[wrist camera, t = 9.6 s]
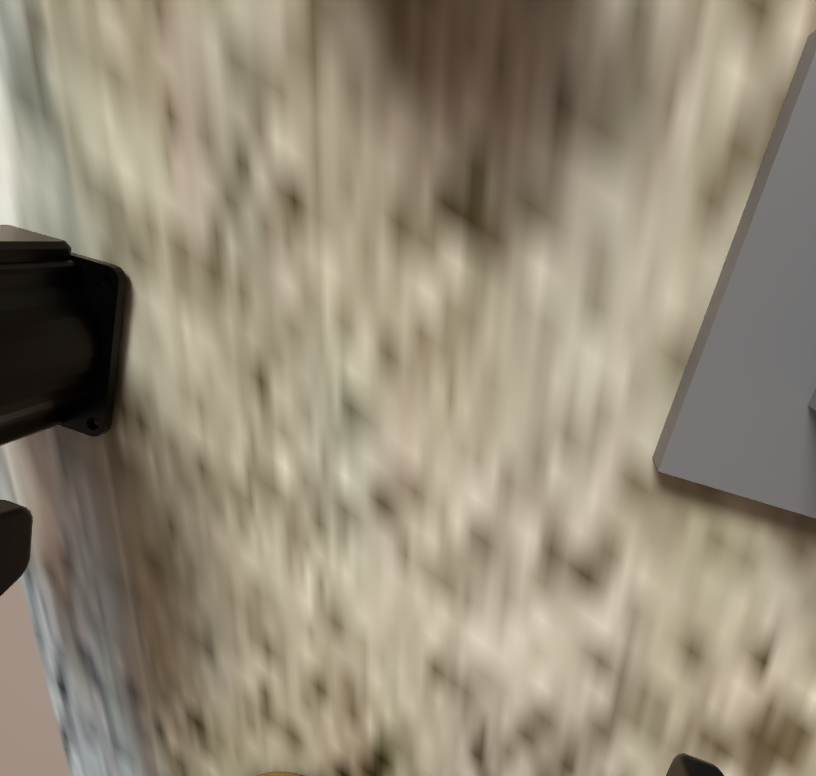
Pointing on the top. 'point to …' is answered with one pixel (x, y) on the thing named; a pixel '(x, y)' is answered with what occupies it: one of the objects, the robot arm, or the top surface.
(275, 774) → the paper tube
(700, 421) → the stand base
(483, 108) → the top surface
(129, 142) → the top surface
